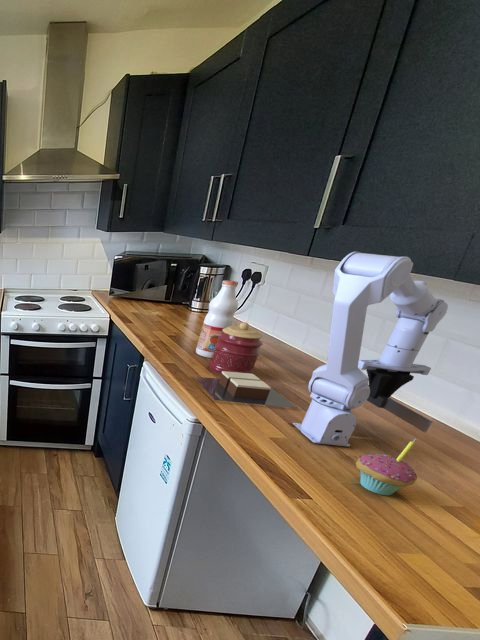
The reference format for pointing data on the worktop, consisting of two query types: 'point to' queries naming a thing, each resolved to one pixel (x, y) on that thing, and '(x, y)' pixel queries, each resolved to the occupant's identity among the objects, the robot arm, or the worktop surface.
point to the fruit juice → (217, 318)
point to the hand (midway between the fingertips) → (377, 397)
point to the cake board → (223, 395)
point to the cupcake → (386, 472)
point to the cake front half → (248, 389)
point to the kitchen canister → (236, 350)
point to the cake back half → (235, 377)
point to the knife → (401, 412)
